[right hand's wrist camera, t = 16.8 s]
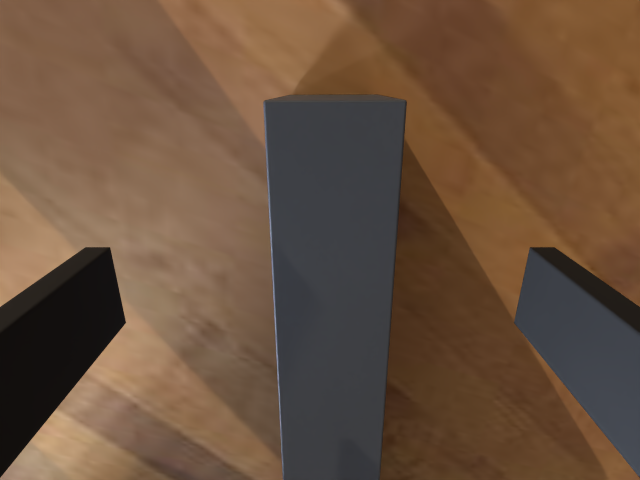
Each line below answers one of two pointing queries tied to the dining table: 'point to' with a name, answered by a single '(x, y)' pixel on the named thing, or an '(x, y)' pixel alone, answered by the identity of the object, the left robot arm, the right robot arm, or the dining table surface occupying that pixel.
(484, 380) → the dining table surface
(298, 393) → the bar
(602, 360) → the right robot arm
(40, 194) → the dining table surface
